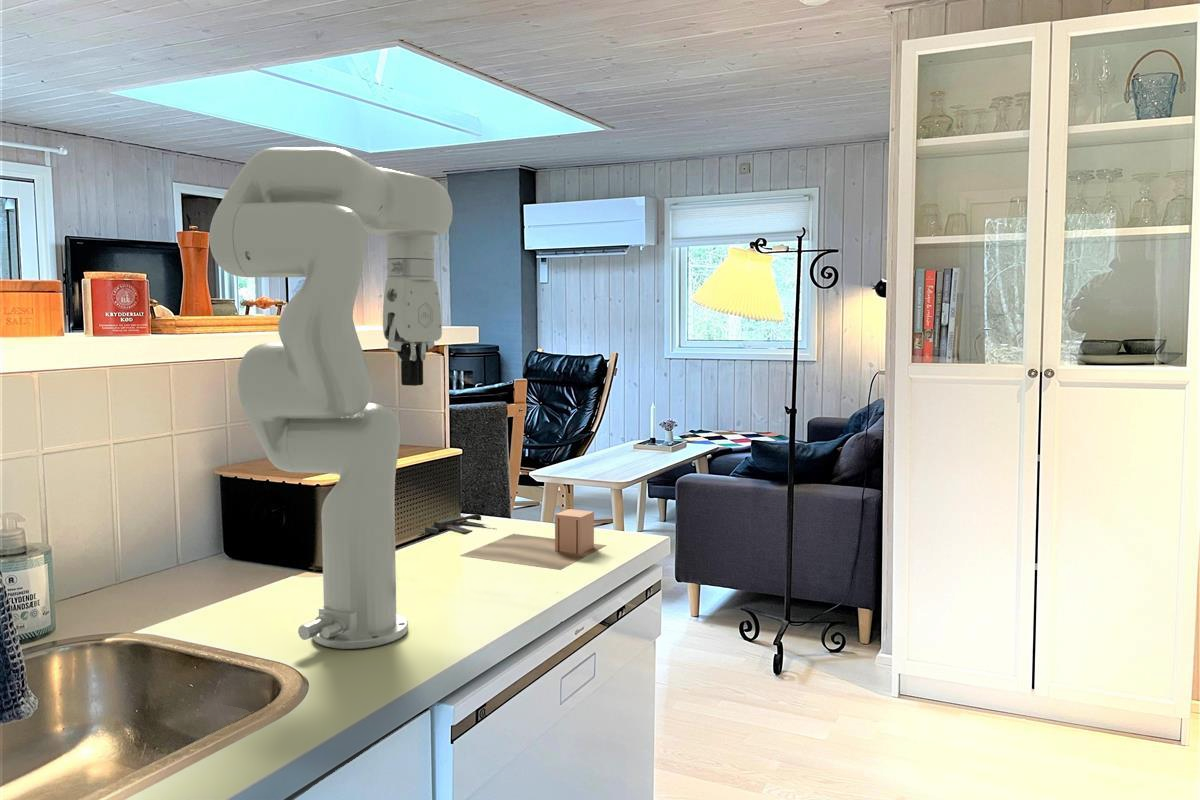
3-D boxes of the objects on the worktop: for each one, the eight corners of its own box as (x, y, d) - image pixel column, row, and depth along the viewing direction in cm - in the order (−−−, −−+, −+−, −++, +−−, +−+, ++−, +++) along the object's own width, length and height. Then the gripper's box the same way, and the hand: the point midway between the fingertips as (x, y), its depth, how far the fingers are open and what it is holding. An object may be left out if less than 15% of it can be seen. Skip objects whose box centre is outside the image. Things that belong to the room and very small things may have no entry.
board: (560, 578, 147) (560, 569, 147) (459, 563, 156) (459, 555, 156) (606, 553, 163) (606, 545, 163) (513, 541, 172) (513, 533, 172)
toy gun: (523, 520, 185) (463, 509, 191) (473, 532, 168) (409, 520, 174) (522, 534, 185) (462, 523, 192) (472, 548, 168) (408, 536, 174)
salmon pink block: (580, 554, 157) (580, 517, 156) (555, 550, 159) (555, 514, 159) (593, 547, 162) (593, 511, 161) (568, 544, 164) (568, 508, 163)
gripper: (399, 268, 135) (401, 389, 136) (456, 273, 148) (457, 383, 150) (361, 269, 138) (363, 387, 140) (420, 274, 152) (421, 381, 153)
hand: (412, 384), depth 145 cm, fingers closed
